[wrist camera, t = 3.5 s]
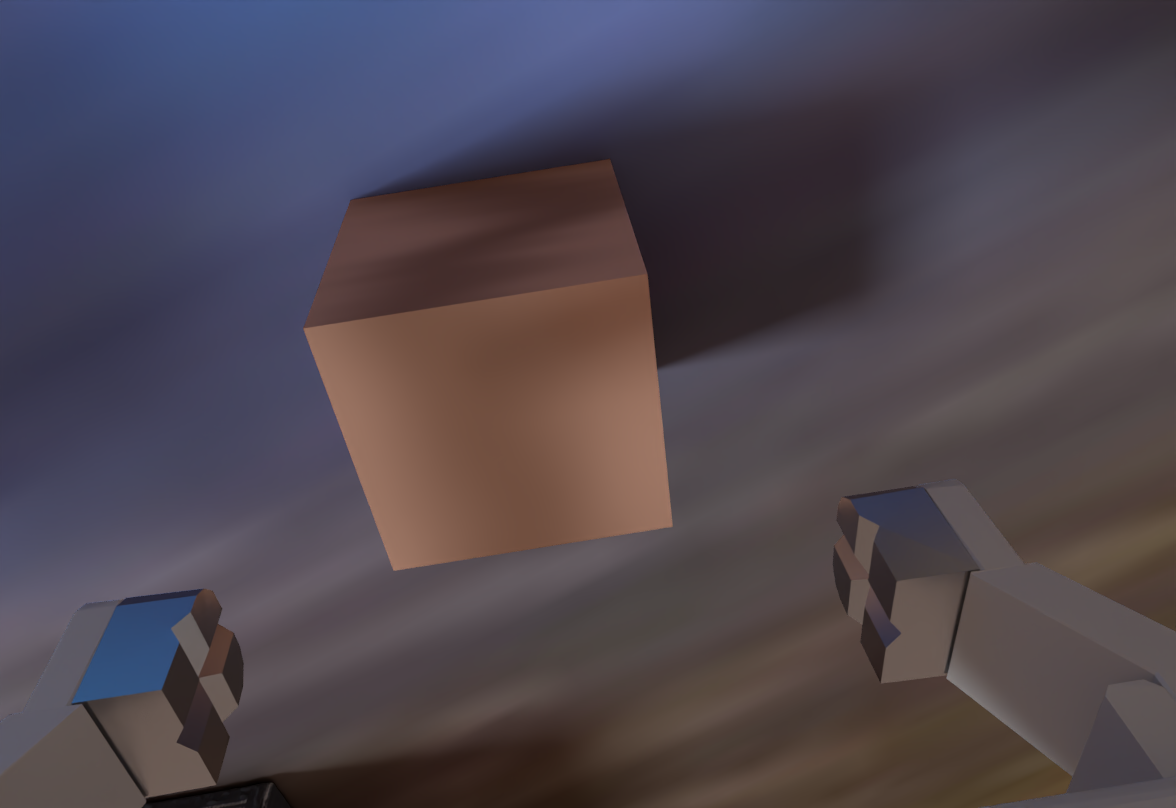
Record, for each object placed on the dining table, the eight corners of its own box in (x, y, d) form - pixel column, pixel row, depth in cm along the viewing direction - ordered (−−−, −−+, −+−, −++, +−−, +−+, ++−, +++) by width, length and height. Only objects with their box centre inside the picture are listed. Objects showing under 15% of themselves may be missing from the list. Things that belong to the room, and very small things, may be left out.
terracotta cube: (609, 157, 18) (647, 273, 14) (634, 374, 21) (672, 526, 17) (351, 198, 18) (303, 328, 14) (415, 408, 21) (393, 570, 17)
